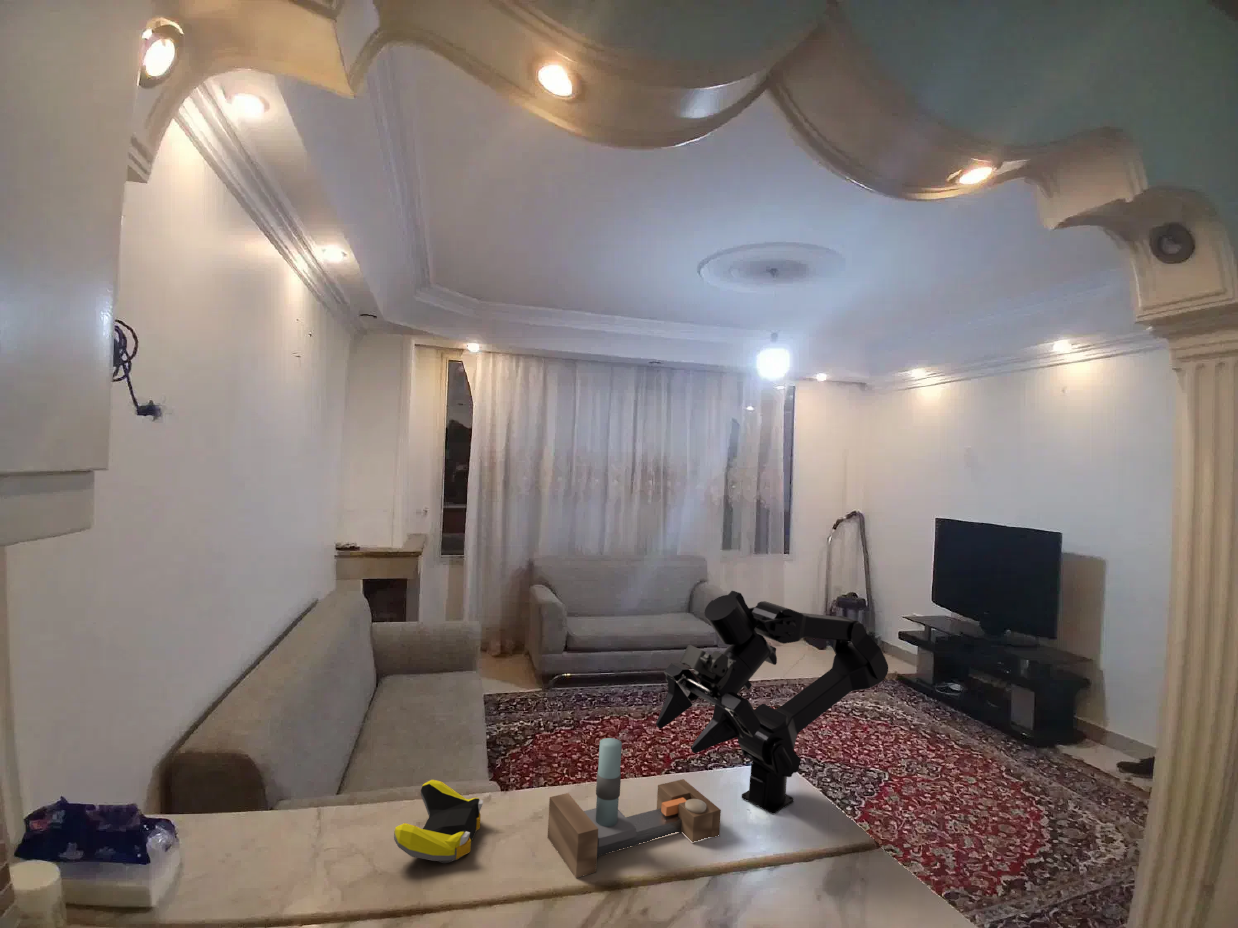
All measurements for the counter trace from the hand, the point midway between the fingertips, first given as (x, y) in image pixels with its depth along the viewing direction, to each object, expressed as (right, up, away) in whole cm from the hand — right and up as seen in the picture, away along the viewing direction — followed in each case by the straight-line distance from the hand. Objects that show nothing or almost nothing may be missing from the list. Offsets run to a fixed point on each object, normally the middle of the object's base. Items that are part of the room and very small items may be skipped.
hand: (674, 738), depth 99 cm
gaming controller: (-34, -13, -5) cm, 37 cm away
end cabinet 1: (-15, -13, -7) cm, 22 cm away
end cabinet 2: (+2, -14, +3) cm, 15 cm away
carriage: (-10, -11, -4) cm, 16 cm away
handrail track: (-6, -14, -2) cm, 15 cm away
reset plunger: (0, -12, +1) cm, 12 cm away
